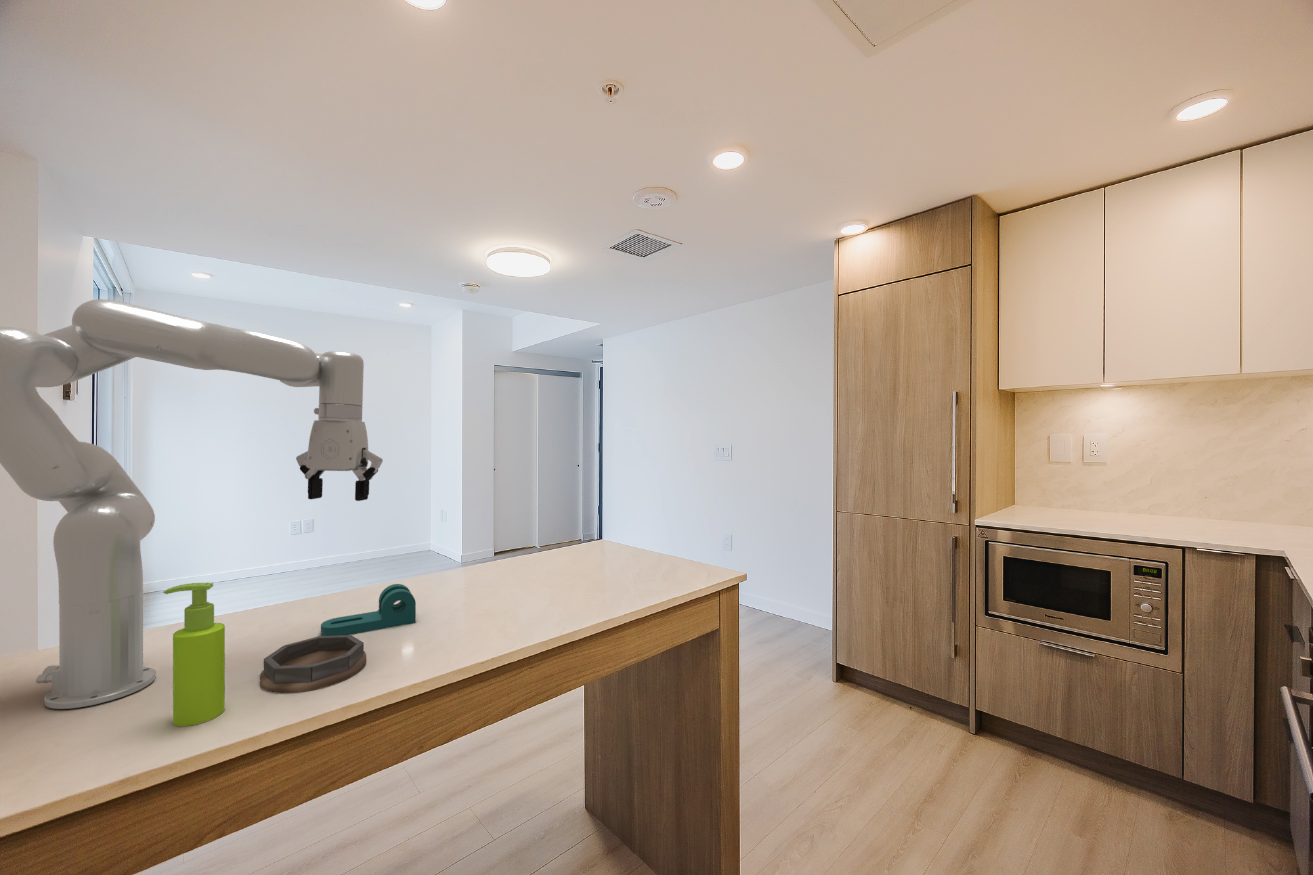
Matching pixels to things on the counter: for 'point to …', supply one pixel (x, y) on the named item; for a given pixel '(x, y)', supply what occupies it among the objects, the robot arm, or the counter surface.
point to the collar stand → (312, 664)
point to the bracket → (377, 614)
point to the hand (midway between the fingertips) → (338, 499)
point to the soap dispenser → (198, 661)
